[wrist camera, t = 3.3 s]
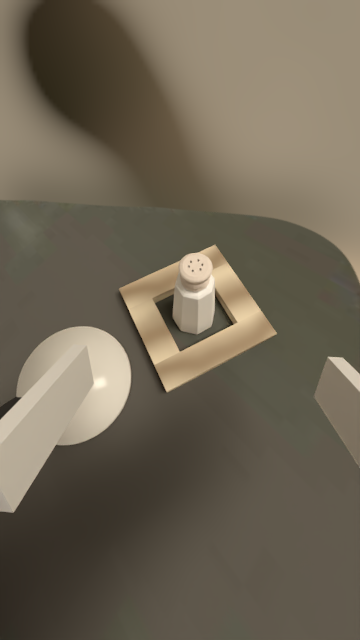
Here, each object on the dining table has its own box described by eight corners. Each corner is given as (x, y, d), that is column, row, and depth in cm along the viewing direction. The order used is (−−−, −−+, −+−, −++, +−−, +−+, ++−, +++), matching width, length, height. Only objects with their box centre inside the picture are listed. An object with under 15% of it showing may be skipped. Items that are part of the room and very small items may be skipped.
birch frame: (122, 294, 30) (118, 288, 28) (213, 252, 31) (215, 244, 30) (168, 392, 25) (166, 392, 24) (272, 337, 27) (276, 333, 25)
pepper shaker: (210, 292, 29) (221, 233, 19) (219, 331, 27) (236, 290, 17) (169, 298, 29) (158, 243, 19) (175, 338, 27) (166, 300, 17)
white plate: (10, 357, 27) (5, 356, 27) (109, 311, 29) (106, 309, 28) (36, 467, 23) (31, 470, 22) (149, 407, 25) (148, 407, 24)
